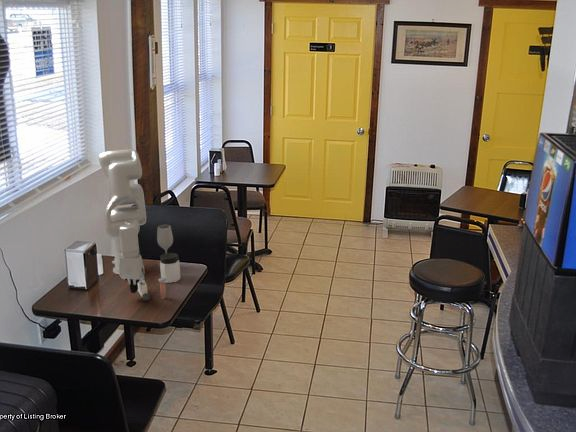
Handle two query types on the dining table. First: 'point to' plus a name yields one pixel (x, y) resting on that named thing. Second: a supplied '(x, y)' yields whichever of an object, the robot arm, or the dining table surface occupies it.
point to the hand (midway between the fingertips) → (134, 291)
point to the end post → (162, 288)
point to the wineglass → (164, 236)
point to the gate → (143, 290)
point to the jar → (170, 267)
